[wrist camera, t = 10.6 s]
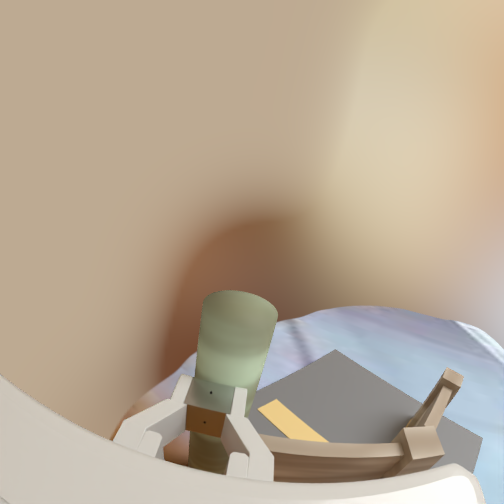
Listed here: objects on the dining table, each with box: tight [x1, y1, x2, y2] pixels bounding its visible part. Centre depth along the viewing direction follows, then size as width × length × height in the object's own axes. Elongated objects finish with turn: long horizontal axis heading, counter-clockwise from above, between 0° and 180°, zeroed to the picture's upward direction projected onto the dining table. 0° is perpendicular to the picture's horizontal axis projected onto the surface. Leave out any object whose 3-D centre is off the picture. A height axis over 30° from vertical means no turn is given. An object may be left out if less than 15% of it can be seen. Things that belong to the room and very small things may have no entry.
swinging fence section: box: [188, 290, 445, 483], centre depth 13 cm, size 3×17×15 cm, turn 83°
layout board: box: [248, 349, 483, 474], centre depth 20 cm, size 26×21×1 cm
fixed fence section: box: [407, 367, 464, 430], centre depth 18 cm, size 2×9×8 cm, turn 130°
